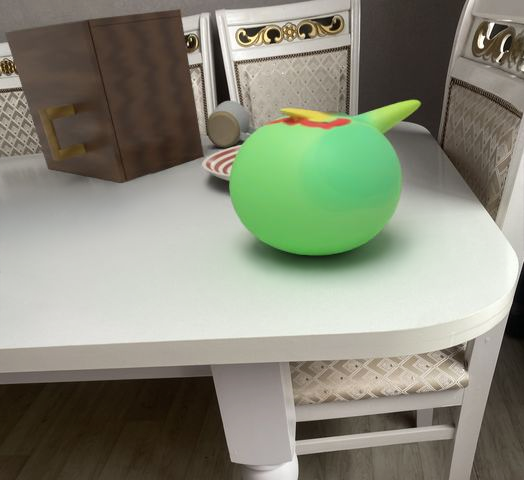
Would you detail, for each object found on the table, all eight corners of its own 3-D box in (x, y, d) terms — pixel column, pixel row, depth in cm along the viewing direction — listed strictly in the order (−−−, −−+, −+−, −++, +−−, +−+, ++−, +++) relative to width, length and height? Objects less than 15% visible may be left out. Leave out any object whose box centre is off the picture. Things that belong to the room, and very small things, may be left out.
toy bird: (209, 258, 59) (185, 117, 51) (299, 211, 69) (291, 87, 61) (347, 295, 48) (344, 123, 40) (429, 232, 58) (440, 86, 50)
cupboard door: (92, 192, 87) (46, 25, 74) (21, 176, 103) (-28, 36, 90) (126, 181, 91) (87, 20, 78) (52, 167, 107) (9, 31, 94)
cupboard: (127, 181, 91) (88, 19, 78) (53, 167, 107) (10, 30, 94) (203, 156, 101) (180, 9, 88) (126, 146, 117) (96, 20, 104)
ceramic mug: (206, 150, 105) (201, 108, 101) (217, 140, 112) (211, 101, 108) (258, 147, 103) (254, 105, 99) (265, 138, 110) (262, 98, 106)
